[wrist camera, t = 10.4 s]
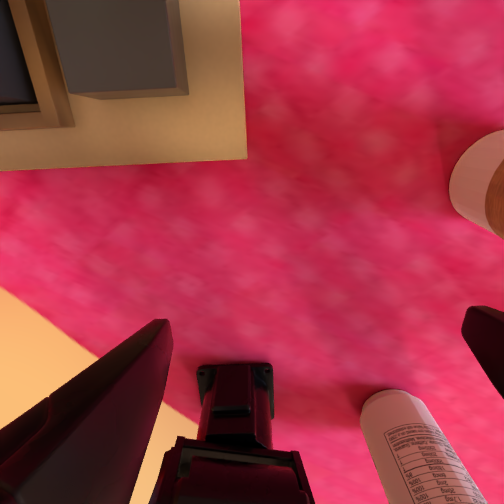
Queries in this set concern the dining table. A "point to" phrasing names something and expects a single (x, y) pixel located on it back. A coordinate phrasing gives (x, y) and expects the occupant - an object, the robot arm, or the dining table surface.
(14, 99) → the dark rectangular block
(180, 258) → the dining table surface
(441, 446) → the energy drink can
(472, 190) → the coffee cup
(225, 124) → the backing board
